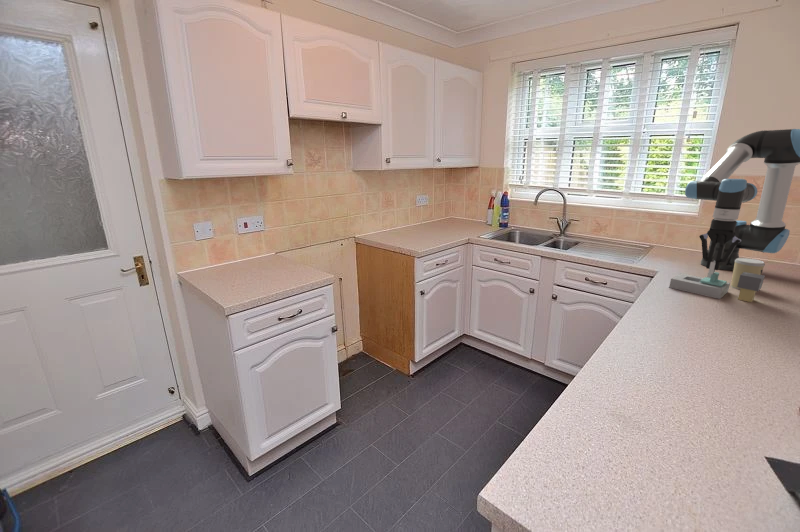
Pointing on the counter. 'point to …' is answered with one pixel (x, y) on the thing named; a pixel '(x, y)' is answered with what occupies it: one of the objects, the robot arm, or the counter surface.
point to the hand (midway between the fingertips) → (710, 276)
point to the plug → (749, 285)
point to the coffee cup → (745, 269)
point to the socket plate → (697, 286)
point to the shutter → (713, 280)
